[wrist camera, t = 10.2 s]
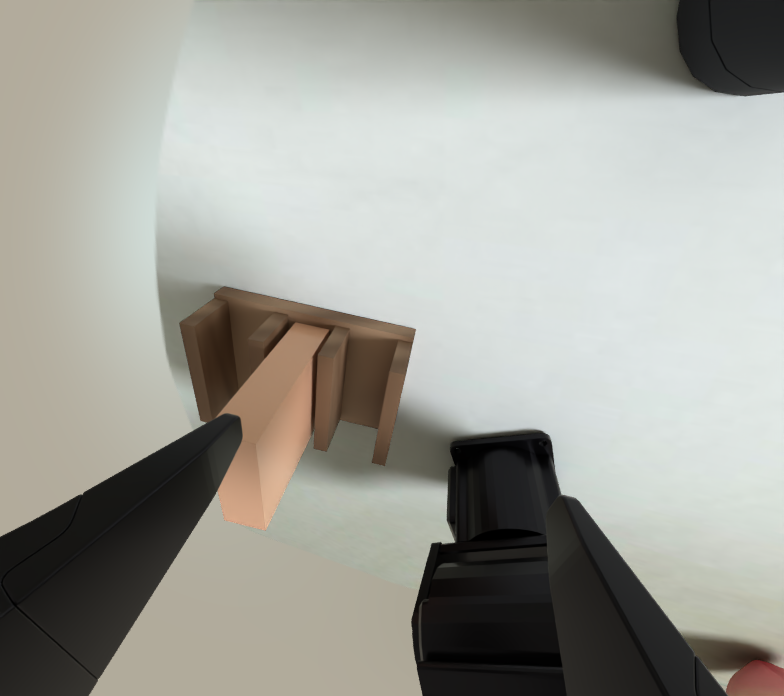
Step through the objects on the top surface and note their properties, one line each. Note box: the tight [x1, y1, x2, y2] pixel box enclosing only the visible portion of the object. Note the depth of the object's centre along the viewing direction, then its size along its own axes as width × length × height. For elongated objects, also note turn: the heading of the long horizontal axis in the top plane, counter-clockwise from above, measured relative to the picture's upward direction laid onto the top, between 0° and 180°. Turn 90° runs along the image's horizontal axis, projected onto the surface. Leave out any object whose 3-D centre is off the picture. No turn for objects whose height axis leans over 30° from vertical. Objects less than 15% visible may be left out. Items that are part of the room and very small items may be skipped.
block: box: [216, 322, 329, 531], centre depth 18 cm, size 2×6×8 cm, turn 172°
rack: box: [179, 287, 416, 466], centre depth 21 cm, size 12×8×4 cm, turn 81°
